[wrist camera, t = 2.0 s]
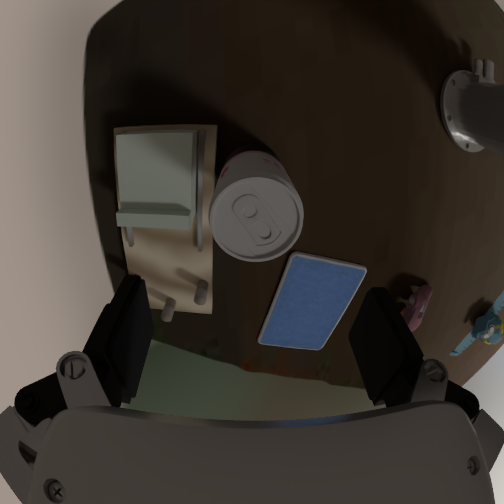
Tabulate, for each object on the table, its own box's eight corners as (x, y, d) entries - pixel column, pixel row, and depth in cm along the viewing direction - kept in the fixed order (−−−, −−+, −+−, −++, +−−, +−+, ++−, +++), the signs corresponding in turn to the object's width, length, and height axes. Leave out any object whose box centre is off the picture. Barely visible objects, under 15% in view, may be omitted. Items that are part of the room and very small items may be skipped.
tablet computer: (319, 346, 48) (321, 351, 47) (255, 339, 47) (256, 345, 45) (366, 264, 39) (369, 268, 38) (290, 247, 37) (291, 252, 36)
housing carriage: (127, 131, 26) (110, 137, 22) (198, 129, 27) (189, 134, 23) (131, 210, 31) (117, 226, 28) (196, 212, 32) (188, 229, 28)
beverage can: (243, 204, 33) (242, 278, 20) (213, 161, 30) (187, 209, 17) (290, 177, 31) (321, 235, 18) (261, 131, 28) (274, 154, 16)
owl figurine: (471, 377, 50) (449, 376, 47) (460, 356, 57) (437, 351, 54) (535, 303, 37) (525, 289, 34) (519, 284, 44) (505, 267, 41)
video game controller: (412, 276, 42) (415, 298, 36) (433, 284, 40) (438, 306, 35) (391, 317, 47) (390, 341, 41) (411, 323, 45) (411, 348, 40)
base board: (118, 127, 27) (99, 132, 23) (217, 125, 28) (212, 128, 24) (137, 301, 41) (129, 321, 37) (212, 308, 42) (209, 330, 38)
